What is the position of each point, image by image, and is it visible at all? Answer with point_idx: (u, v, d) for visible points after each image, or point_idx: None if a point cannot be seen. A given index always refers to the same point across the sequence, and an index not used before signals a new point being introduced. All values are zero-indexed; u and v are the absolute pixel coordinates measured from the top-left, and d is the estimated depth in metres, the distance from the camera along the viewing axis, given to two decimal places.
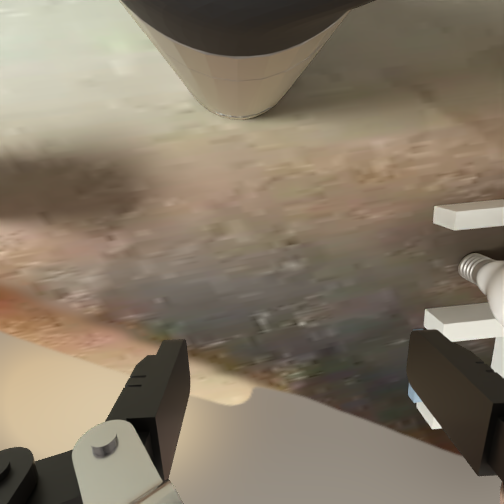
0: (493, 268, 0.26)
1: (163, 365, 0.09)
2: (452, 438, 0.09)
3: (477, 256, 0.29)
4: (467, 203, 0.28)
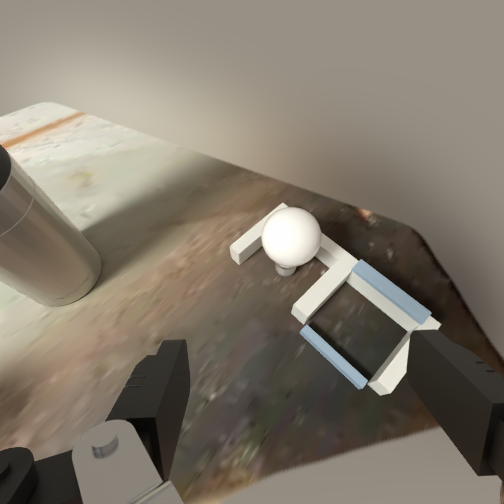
0: None
1: (163, 365, 0.09)
2: (452, 439, 0.09)
3: None
4: None
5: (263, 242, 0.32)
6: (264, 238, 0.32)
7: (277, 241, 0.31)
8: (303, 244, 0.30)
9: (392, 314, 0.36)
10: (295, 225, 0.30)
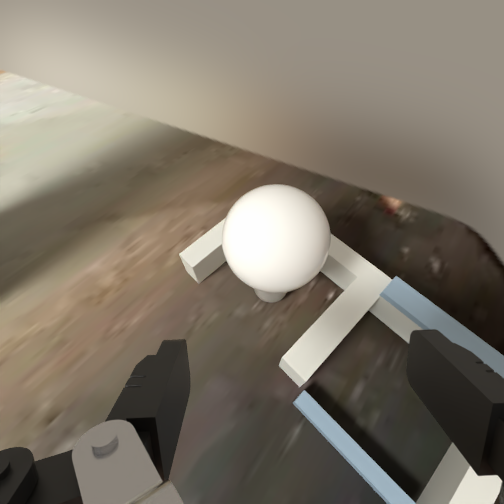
0: None
1: (163, 365, 0.09)
2: (452, 438, 0.09)
3: None
4: None
5: (223, 248, 0.18)
6: (225, 241, 0.17)
7: (246, 247, 0.16)
8: (296, 253, 0.15)
9: None
10: (280, 216, 0.15)
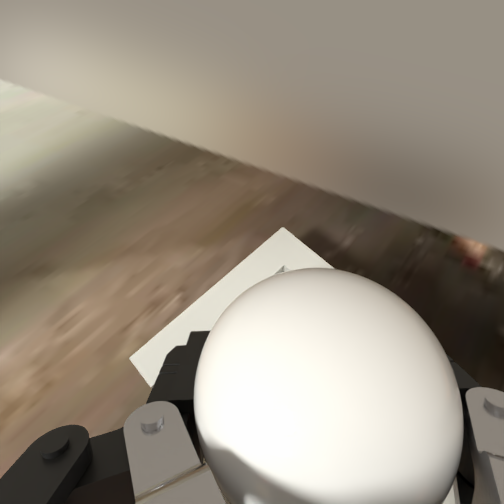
0: None
1: (194, 353, 0.10)
2: None
3: None
4: None
5: None
6: (198, 421, 0.07)
7: (252, 485, 0.05)
8: None
9: None
10: (357, 407, 0.05)
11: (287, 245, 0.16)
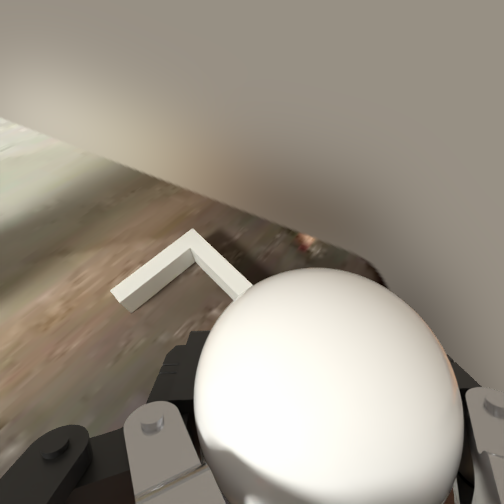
0: None
1: (194, 353, 0.10)
2: None
3: None
4: None
5: None
6: (198, 422, 0.07)
7: (253, 485, 0.05)
8: None
9: None
10: (358, 408, 0.05)
11: (193, 238, 0.31)
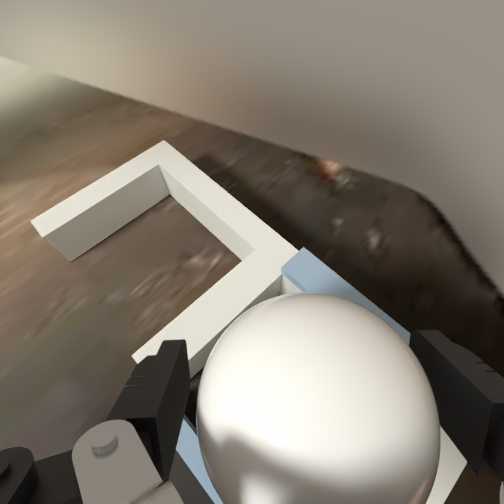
0: None
1: (163, 365, 0.09)
2: (452, 438, 0.09)
3: None
4: None
5: (198, 440, 0.08)
6: (200, 437, 0.08)
7: (249, 498, 0.06)
8: None
9: None
10: (340, 431, 0.06)
11: (164, 152, 0.21)
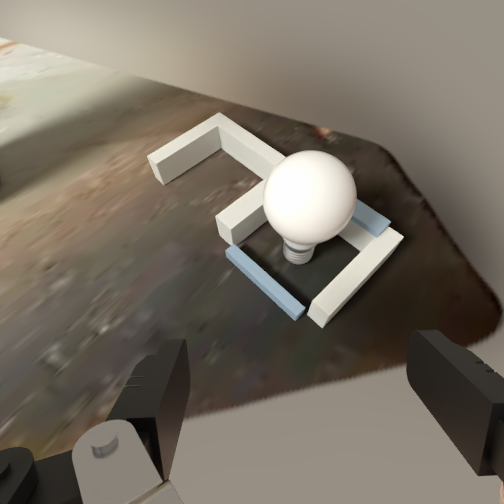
0: None
1: (163, 365, 0.09)
2: (452, 438, 0.09)
3: None
4: None
5: (265, 204, 0.21)
6: (267, 197, 0.20)
7: (287, 199, 0.19)
8: (330, 203, 0.19)
9: (345, 233, 0.28)
10: (317, 172, 0.19)
11: (220, 119, 0.34)
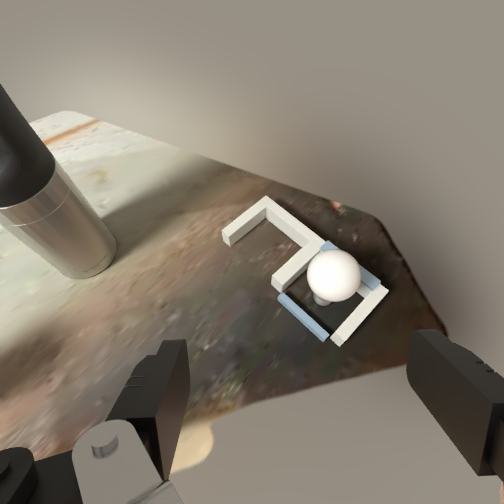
0: None
1: (163, 365, 0.09)
2: (452, 439, 0.09)
3: None
4: None
5: (309, 280, 0.37)
6: (311, 277, 0.36)
7: (324, 282, 0.35)
8: (347, 284, 0.35)
9: None
10: (340, 268, 0.35)
11: (267, 201, 0.49)
